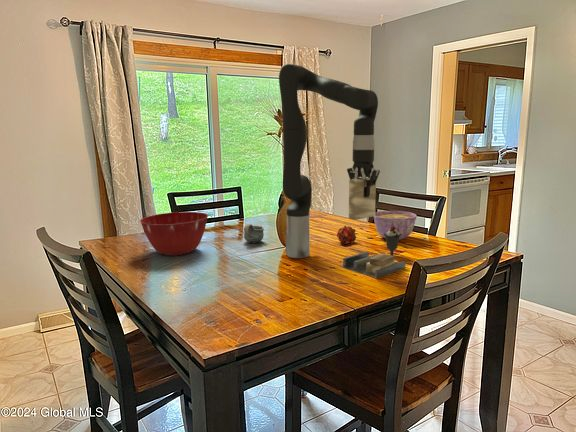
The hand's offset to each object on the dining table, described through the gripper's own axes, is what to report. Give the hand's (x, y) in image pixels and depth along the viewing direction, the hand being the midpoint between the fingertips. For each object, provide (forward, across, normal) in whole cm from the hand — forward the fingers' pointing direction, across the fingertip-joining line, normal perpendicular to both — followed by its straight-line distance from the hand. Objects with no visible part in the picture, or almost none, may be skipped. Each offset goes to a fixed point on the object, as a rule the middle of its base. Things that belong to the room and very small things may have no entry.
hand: (362, 196), depth 151 cm
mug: (+27, -58, -8) cm, 65 cm away
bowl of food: (+27, -19, +46) cm, 56 cm away
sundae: (+27, +1, +18) cm, 32 cm away
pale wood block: (+8, 0, 0) cm, 8 cm away
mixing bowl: (+27, -69, -42) cm, 85 cm away
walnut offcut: (+22, +10, 0) cm, 24 cm away
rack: (+27, +5, 0) cm, 27 cm away
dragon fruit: (+27, -28, +22) cm, 45 cm away
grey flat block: (+25, +10, 0) cm, 27 cm away
